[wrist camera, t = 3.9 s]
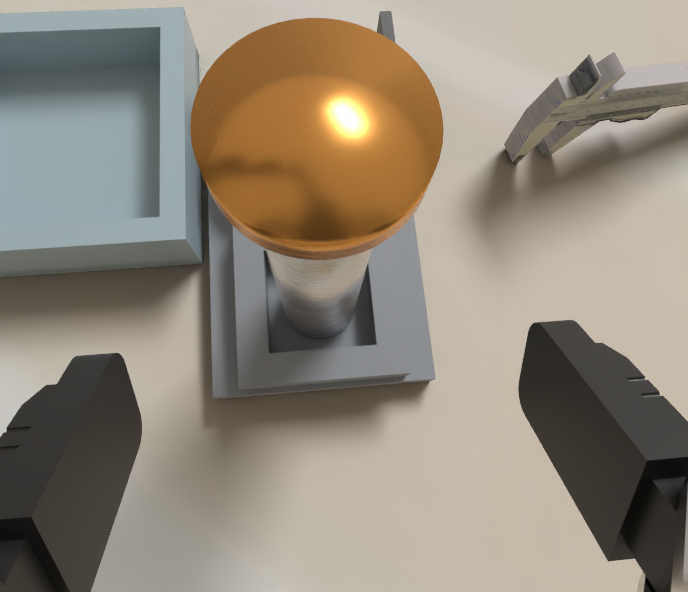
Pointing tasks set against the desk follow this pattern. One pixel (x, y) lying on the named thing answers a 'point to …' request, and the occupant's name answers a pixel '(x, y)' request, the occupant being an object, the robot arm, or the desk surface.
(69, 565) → the robot arm
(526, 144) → the caliper
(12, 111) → the tray
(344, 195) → the pin
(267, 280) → the plate
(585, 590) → the desk surface
